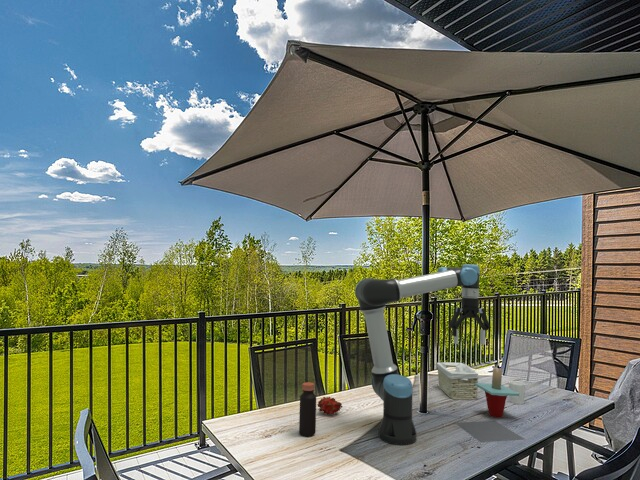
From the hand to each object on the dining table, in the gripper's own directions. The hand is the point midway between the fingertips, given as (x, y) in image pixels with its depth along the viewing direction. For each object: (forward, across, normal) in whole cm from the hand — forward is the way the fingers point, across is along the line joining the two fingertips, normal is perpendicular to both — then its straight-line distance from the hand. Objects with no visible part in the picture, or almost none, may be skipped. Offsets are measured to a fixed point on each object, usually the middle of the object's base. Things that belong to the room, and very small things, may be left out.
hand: (469, 343), depth 181 cm
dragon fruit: (+37, -60, +18) cm, 73 cm away
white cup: (+34, +42, +21) cm, 58 cm away
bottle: (+37, -74, -3) cm, 83 cm away
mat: (+35, +2, -12) cm, 37 cm away
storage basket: (+35, +18, +39) cm, 55 cm away
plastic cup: (+34, +18, +4) cm, 39 cm away
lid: (+22, +17, +4) cm, 28 cm away
